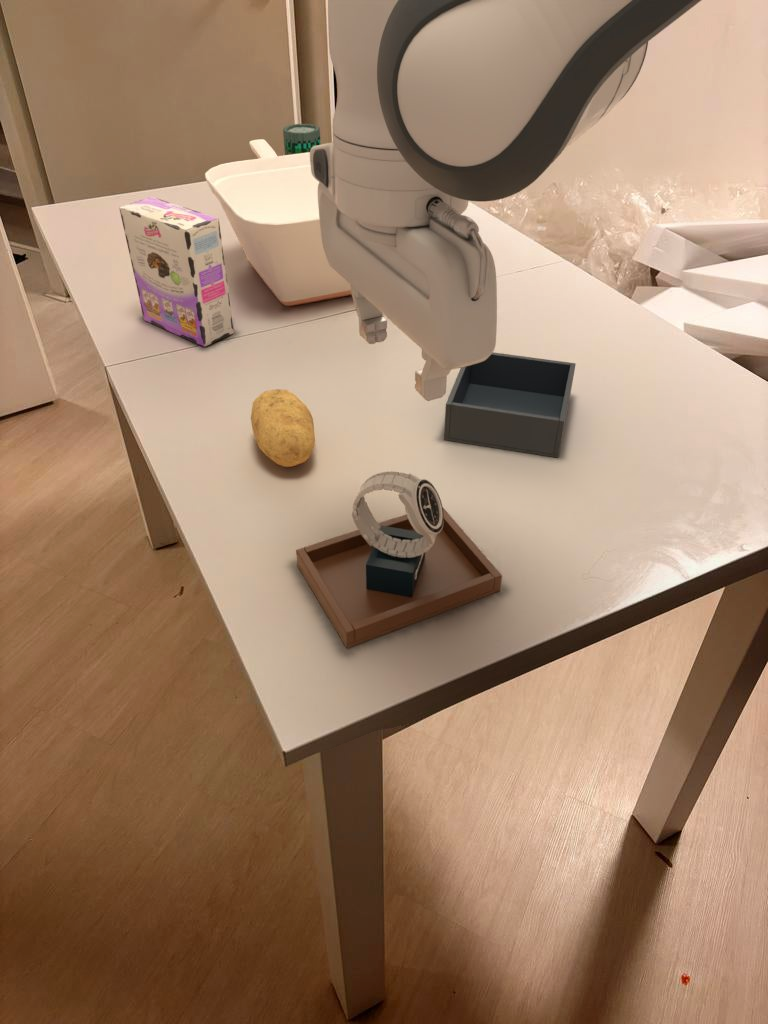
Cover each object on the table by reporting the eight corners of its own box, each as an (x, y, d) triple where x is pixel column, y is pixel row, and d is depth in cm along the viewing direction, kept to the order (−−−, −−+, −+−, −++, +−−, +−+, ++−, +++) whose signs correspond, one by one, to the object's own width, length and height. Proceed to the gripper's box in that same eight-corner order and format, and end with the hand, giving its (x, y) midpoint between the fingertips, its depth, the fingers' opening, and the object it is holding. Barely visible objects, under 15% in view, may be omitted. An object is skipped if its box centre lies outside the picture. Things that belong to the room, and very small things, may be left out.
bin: (569, 397, 100) (575, 363, 97) (558, 458, 90) (564, 421, 87) (465, 383, 103) (468, 348, 100) (443, 439, 93) (445, 403, 90)
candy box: (236, 333, 113) (221, 216, 103) (204, 349, 110) (185, 229, 99) (173, 306, 120) (152, 193, 109) (141, 320, 116) (116, 205, 106)
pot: (260, 334, 113) (249, 229, 103) (187, 228, 144) (173, 139, 134) (441, 298, 122) (446, 198, 112) (335, 205, 153) (332, 121, 143)
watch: (433, 601, 73) (438, 507, 66) (347, 585, 74) (344, 492, 67) (445, 560, 77) (451, 468, 70) (364, 546, 78) (362, 454, 71)
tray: (438, 518, 82) (439, 503, 81) (500, 590, 74) (502, 575, 73) (296, 565, 77) (295, 549, 76) (346, 648, 69) (346, 633, 68)
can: (298, 223, 146) (292, 135, 136) (285, 213, 150) (278, 126, 140) (328, 217, 148) (324, 130, 138) (314, 207, 152) (309, 122, 143)
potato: (304, 421, 96) (300, 375, 92) (327, 474, 88) (324, 427, 84) (248, 430, 95) (242, 384, 90) (266, 486, 86) (261, 438, 82)
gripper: (533, 221, 46) (510, 422, 55) (377, 133, 60) (379, 305, 69) (438, 240, 44) (429, 446, 53) (299, 144, 58) (311, 320, 67)
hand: (400, 365), depth 61 cm, fingers open, 8 cm apart
